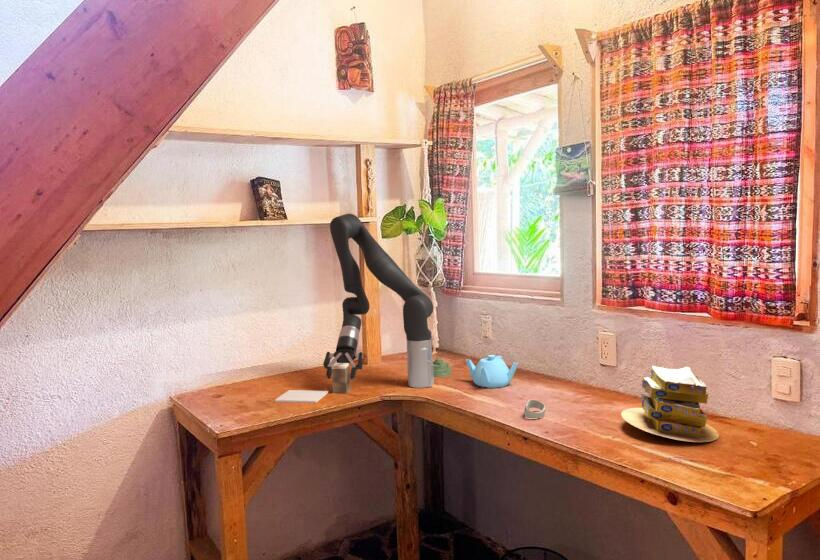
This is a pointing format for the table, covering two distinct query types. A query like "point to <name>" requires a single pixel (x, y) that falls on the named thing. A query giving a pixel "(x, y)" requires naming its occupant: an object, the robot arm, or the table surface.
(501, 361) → the teapot
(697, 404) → the stacked boxes on plate
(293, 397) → the white mat
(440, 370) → the decorative artifact
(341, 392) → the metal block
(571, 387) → the table surface
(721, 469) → the table surface
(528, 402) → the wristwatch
